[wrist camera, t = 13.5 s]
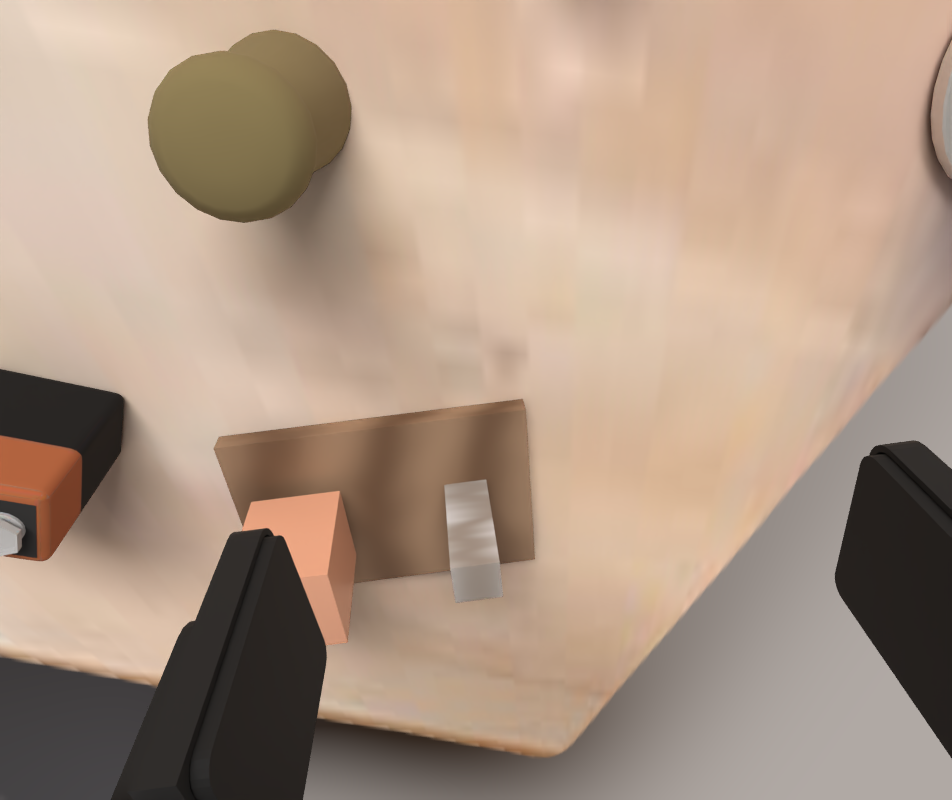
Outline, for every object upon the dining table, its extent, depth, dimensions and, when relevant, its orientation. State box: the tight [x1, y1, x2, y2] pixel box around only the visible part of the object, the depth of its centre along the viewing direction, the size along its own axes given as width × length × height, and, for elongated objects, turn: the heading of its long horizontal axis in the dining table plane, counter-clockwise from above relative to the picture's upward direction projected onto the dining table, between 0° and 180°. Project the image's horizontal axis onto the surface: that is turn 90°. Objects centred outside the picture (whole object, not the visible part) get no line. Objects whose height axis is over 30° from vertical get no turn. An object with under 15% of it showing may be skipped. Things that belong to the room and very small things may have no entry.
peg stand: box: [214, 399, 535, 603], centre depth 37 cm, size 18×12×8 cm, turn 95°
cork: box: [148, 30, 351, 223], centre depth 24 cm, size 6×6×11 cm
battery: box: [0, 369, 123, 561], centre depth 32 cm, size 4×7×10 cm, turn 72°
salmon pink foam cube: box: [242, 491, 356, 645], centre depth 36 cm, size 5×5×7 cm
